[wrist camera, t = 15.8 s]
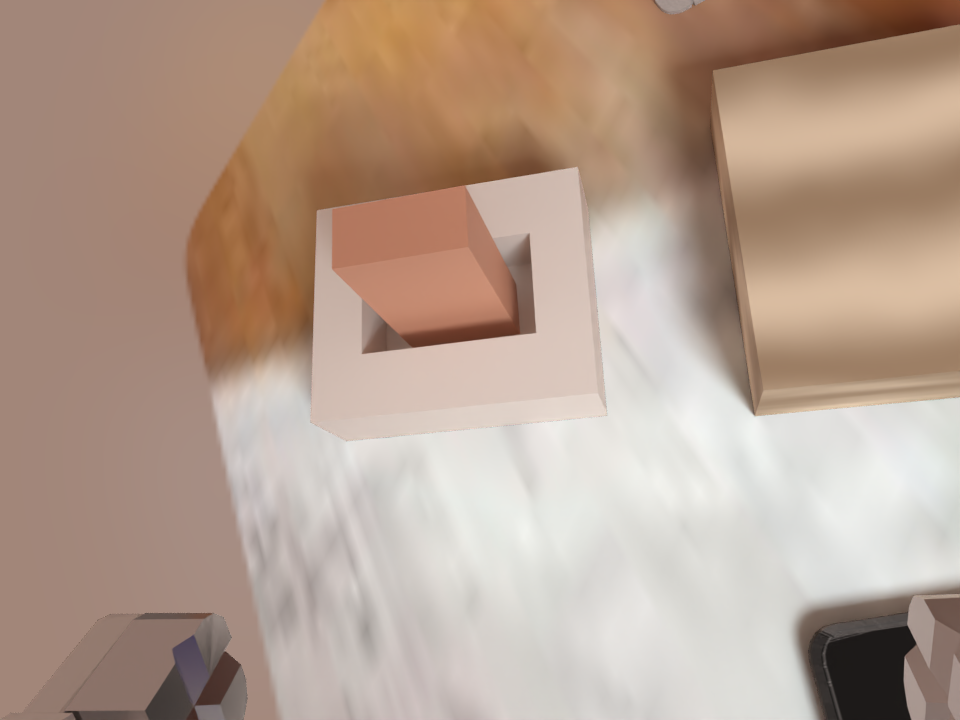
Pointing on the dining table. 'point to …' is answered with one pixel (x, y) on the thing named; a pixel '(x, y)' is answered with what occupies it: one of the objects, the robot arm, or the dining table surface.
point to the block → (426, 267)
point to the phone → (862, 668)
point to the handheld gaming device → (676, 5)
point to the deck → (845, 220)
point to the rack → (479, 363)
